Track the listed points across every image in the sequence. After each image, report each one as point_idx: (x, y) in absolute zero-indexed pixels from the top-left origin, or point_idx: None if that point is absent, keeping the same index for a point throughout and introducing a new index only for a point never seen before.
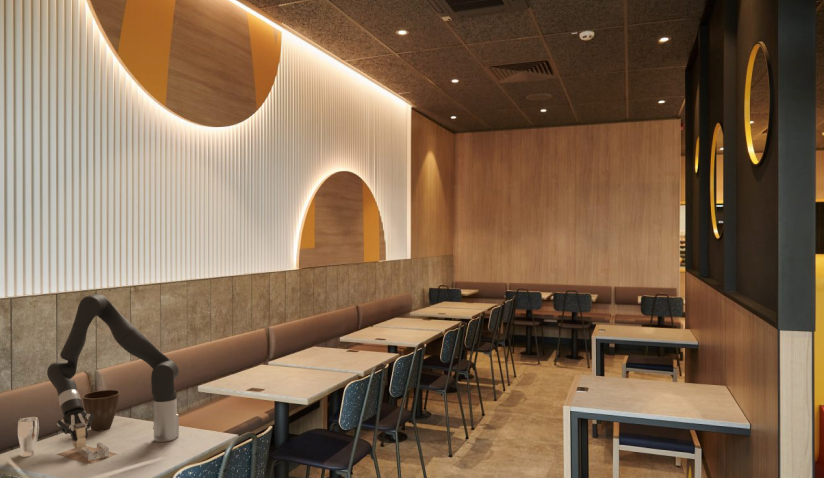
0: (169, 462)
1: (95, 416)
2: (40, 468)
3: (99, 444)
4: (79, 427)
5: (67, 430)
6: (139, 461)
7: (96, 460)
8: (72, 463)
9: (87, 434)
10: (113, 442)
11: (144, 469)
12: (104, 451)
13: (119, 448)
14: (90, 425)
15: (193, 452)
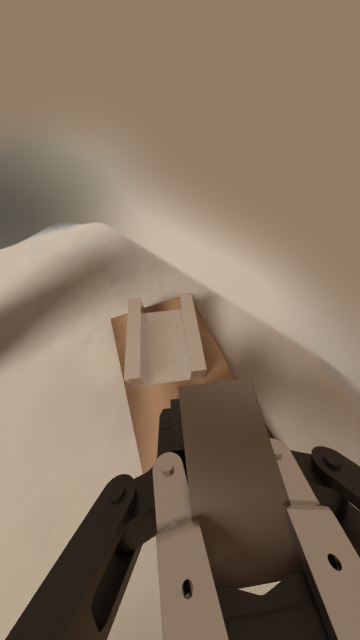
0: (66, 239)
1: None
2: (323, 382)
3: (136, 356)
4: (226, 382)
5: (323, 448)
6: (96, 269)
7: (170, 307)
8: (227, 357)
9: (165, 414)
10: (25, 535)
11: (112, 237)
12: (142, 307)
13: (67, 401)
14: (116, 479)
15: (4, 252)
